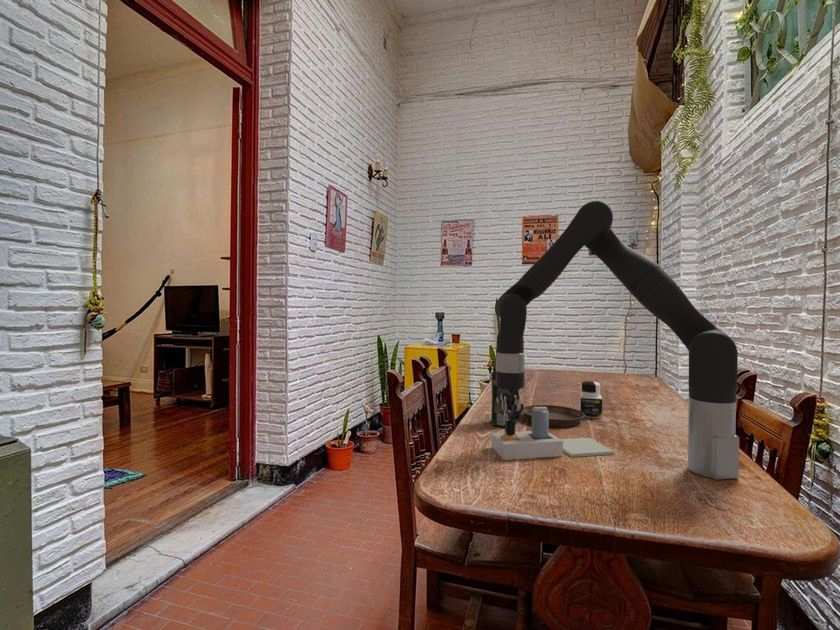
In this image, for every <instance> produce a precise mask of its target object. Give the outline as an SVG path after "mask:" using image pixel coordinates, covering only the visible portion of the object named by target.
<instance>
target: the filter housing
mask: <svg viewBox="0 0 840 630" xmlns="http://www.w3.org/2000/svg"><path fill="white" fill-rule="evenodd" d="M504 433H505V431H503V432H491V434H490V436H491V437H490V441H491V445H490V447H492V448H493V449H494V450H495V451H496V452H497V453H498V454H497V453H496V452H495V451H494V450H493V449H492V448H491V449H492V450H493V451H494V452H495V453H496V454H497V455H498V456H500V458H501V459H502V460H503V461H512V460H526V459H527V460H528V459H539V458H540V459H543V458H559V457H564V451H563V441H562V440H560V438H559V437H558V436H555V435H554V434H552V433H551V432H549V439H539V440H535V439H533V438H532V430H526V431H525V430H523V431H515V434H517V440H511V441H505V440H504V439H503V434H504Z"/></svg>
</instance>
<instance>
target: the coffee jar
mask: <svg viewBox="0 0 840 630" xmlns="http://www.w3.org/2000/svg"><path fill="white" fill-rule="evenodd" d="M490 376H491V377H490V379H491V380H490V381H491V424H492V425H493V426H495V427H498V426H499V428H505V419H504V416H502V414H501V409H500V405H499V400H498V395H501V390H502V389H501V388H498V387H497V386H496V370H494V371H492V372H491V375H490ZM518 421H519V420H516V421H515V425H516V424H517V423H518Z"/></svg>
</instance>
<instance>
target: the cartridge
mask: <svg viewBox="0 0 840 630" xmlns="http://www.w3.org/2000/svg"><path fill="white" fill-rule="evenodd" d="M549 429H550V428H549V411H548V410H547V407H533V409H532V421H531V431H532V438H533V439H535V440H539V439H549V433H550V431H549Z"/></svg>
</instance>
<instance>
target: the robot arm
mask: <svg viewBox="0 0 840 630" xmlns="http://www.w3.org/2000/svg"><path fill="white" fill-rule="evenodd" d="M613 221H614V212H613V210H612V208H611V207H610V205H608V203H606V202H604V201H600V200H592V201H588V202H586V203H585V204H584V205H582V206H581V207H580V208H579V209H578V211H577V212H576V214H575V216H574V217H573V218H572V219H571V221H570V223H569V224H568V226H567V227H566V228H565V230H564V231H563V232H562V233H561V235H560V236H559V237H558V238H557V239H556V240H555V241H554V243H553V244H552V245H551V246H550V247H549V248H548V249H547V250H546V252H545V253H544V254H542V256H541V257H539V258H538V260H536V262H534V264H533V265H531V267H530V268H528V270H527V271H526V272H525V273H524V274H523V275H522V276H521V277H520V279H519V280H518V281H517V282H516V283H514V284H513V285H512V286H510V287H509V288H508V289H507V290H506V291H504V293H502V294H501V296H499V298H498V299H497V300H496V302H495V306H494V311H495V314H496V315H497V317H498V318H499V331H498V333H497V336H496V358H495V371H496V386H497V387H498V388H501V389H502V390H501V395H498V400H499V405H500V409H501V414H502V416H504V419H505V427H504V432H505V433H506V434H507V435H514V434H515V432H516V424H515V421H516V420H518V421H520V418H521V415H522V414H523V412H522V410H523V408H524V407H525V405H524V404H523V403H520V401H521V398H520V392H519V391H520V390H521V389H524V388H525V382H526V381H525V380H526V379H525V375H526V374H525V373H526V372H525V371H526V370H525V368H526V367H525V365H526V363H525V361H526V360H525V355H524V354H525V353H524V352H525V351H524V350H525V341H524V334H525V329H526V323H527V316H528V315H527V314H528V313H527V311H528V310H527V306H528V305H529V304H530V303H531V302H532V301H533V300H535V299H537V298H539V297H540V296H542V295H543V294H544V293H545V292H546V290H548V289H549V288H550V286H551V285H552V284H554V282H556V280H557V279H558V278H559V276H561V274H562V273H563V272H564V270H565V269H566V268H567V266H568V265H569V263H570V262H572V260H573V258H574V257H575V256H576V255H577V254H578V253H579V252H580V250H581V249H582V248H584V247H585V248H587V249H588V250H589V251H590V252H592V253H593V255H595V256H596V257H597V258H598V259H599V260H600V261H601V262H602V263H604V264H605V266H606V267H607V268H608V269H609V270H610V271H611V273H612V274H613V275H614V276H615V277H616V279H617V280H618V281H619V282H620V283H621V284H622V285H623V286H624V287H625V288H626V290H628V292H629V293H630V295H632V296H633V297H634V298H635V299H636V300H637V301H638V302H639V304H641V305H642V306H643V307H644V308H645V309H646V310H647V311H649V313H651V314H652V315H653V316H655V318H658V320H659V321H661V322H662V323H664V324H665V325H666V326H667V327H669V328H670V329H671V330H672V331H673V332H672V333H674V334H675V335H676V336H677V338H678V339H679V340H680V342H681V343H682V344H683V345H684V347H685V348H686V349H687V351H688V414H687V415H688V418H687V419H688V423H687V424H688V425H687V426H688V427H687V428H688V429H687V431H688V432H687V469H688V470H689V471H690V472H692V473H694V474H696V475H698V476H703V477H705V478H709V479H713V480H716V481H718V480H731V479H739V477H740V474H739V473H740V436H738V435H737V434H736V421H737V420H736V415H737V414H736V412H737V402H736V401H737V391H738V390H737V389H738V359H739V358H738V353H739V352H738V347H737V345H736V343H735V341H734V340H733V339H732V338H731V336H729V335H728V334H726V333H725V332H723V331H722V330H721V329H719V328H718V327H717V326H716V325H715V324H713V323H712V322H711V321H710V320H709V319H708V318H706V317H705V316H704V315H703V314H702V313H701V312H700V311H699V310H698V309H697V308H696V307H695V306H694V304H693V303H692V302H691V300H689V298H688V297H687V295H686V294H685V292H683V290H682V289H681V287H680V286H679V285H678V284H677V283H676V282H675V280H673V278H672V277H671V276H670V275H669V274H668V273H667V272H666V271H665V270H664V268H662V267H661V266H660V264H658V263H657V262H656V261H654V260H653V259H652V258H650V257H649V256H647V255H645V254H642V253H641V252H638V251H637V250H635V249H632V248H631V247H630V246H628V245H627V244H626V243H624V242H623V240H621V238H619V236H618V235H617V233H615V231H614V230H613V229H612V228H611V227H612V225H613Z"/></svg>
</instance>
